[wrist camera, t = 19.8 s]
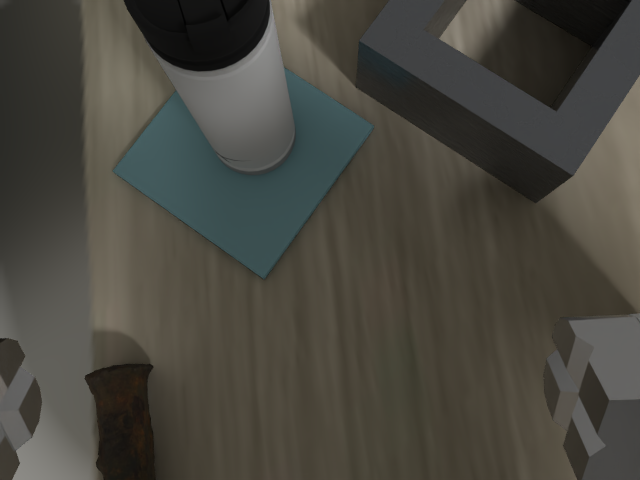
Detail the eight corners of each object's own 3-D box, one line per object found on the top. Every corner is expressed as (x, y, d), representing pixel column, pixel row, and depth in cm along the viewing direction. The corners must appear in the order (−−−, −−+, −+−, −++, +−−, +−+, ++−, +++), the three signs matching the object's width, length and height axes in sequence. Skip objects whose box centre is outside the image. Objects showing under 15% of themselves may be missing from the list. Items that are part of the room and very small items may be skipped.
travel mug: (227, 191, 44) (137, 63, 24) (202, 111, 45) (97, -74, 25) (308, 165, 44) (284, 16, 24) (281, 86, 45) (238, -118, 25)
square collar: (646, 36, 46) (701, -19, 39) (536, 203, 43) (573, 175, 37) (469, -67, 48) (491, -138, 41) (355, 87, 45) (359, 40, 39)
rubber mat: (373, 128, 45) (374, 125, 44) (264, 279, 43) (263, 278, 42) (226, 32, 47) (224, 28, 46) (115, 173, 45) (112, 171, 44)
